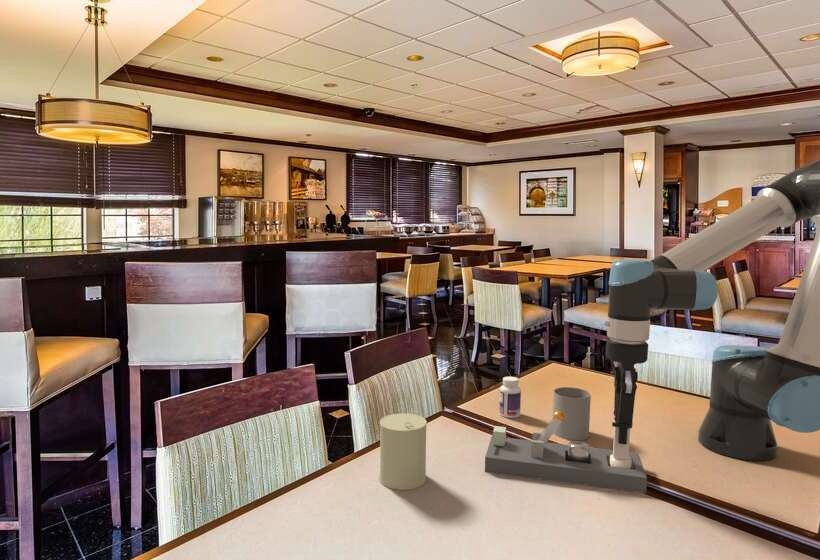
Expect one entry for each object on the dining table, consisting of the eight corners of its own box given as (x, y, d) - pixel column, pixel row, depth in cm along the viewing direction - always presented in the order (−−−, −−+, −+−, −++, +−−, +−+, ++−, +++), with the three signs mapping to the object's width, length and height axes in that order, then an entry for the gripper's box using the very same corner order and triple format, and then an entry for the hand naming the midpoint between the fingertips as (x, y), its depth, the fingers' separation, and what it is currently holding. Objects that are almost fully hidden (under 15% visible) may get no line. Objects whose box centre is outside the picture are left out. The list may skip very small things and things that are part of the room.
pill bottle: (523, 413, 139) (524, 377, 138) (515, 420, 134) (516, 383, 133) (503, 409, 142) (505, 374, 141) (495, 415, 137) (496, 379, 136)
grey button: (587, 458, 108) (588, 442, 108) (588, 467, 104) (589, 450, 104) (567, 456, 109) (568, 440, 109) (567, 464, 105) (568, 447, 105)
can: (391, 494, 97) (392, 431, 96) (371, 473, 105) (371, 415, 104) (435, 483, 101) (436, 423, 100) (412, 464, 109) (413, 407, 108)
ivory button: (629, 471, 106) (630, 455, 106) (632, 481, 102) (633, 463, 102) (608, 469, 107) (609, 452, 107) (610, 478, 103) (610, 461, 103)
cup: (590, 441, 121) (592, 399, 120) (553, 438, 123) (555, 397, 122) (586, 428, 130) (587, 388, 128) (551, 425, 131) (552, 386, 130)
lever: (542, 447, 110) (567, 413, 108) (542, 453, 107) (567, 418, 105) (532, 441, 110) (557, 406, 108) (532, 446, 107) (557, 411, 105)
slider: (505, 440, 114) (506, 427, 113) (504, 446, 111) (504, 432, 111) (494, 439, 114) (494, 425, 114) (492, 444, 112) (493, 431, 111)
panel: (637, 467, 109) (639, 438, 108) (646, 493, 98) (647, 461, 98) (491, 449, 117) (492, 422, 116) (484, 471, 106) (485, 441, 106)
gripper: (603, 331, 109) (598, 441, 112) (609, 345, 96) (602, 469, 99) (643, 334, 107) (636, 446, 110) (654, 348, 94) (646, 474, 97)
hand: (620, 456), depth 104 cm, fingers closed
